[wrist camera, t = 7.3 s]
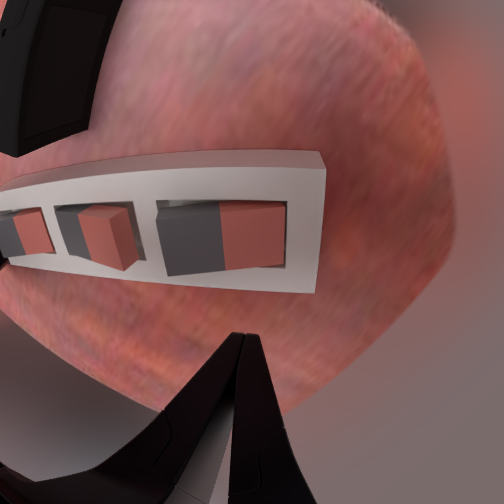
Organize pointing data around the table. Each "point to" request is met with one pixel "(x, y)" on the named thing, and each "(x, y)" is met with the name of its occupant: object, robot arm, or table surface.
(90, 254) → the rocker
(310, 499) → the robot arm
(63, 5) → the black cubic block
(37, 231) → the rocker
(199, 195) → the rocker switch panel
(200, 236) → the rocker
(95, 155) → the table surface
